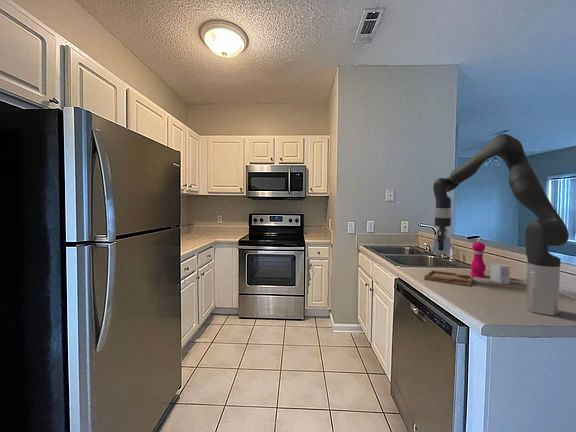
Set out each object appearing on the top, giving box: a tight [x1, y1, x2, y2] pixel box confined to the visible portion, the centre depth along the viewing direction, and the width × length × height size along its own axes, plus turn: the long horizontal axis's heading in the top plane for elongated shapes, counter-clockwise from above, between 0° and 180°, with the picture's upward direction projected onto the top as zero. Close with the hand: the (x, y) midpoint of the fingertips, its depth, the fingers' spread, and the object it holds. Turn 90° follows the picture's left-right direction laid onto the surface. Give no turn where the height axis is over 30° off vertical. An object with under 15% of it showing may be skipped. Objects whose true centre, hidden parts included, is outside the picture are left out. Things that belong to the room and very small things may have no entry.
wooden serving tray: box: [423, 270, 474, 287], centre depth 156 cm, size 16×20×2 cm
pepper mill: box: [469, 238, 487, 278], centre depth 164 cm, size 7×7×20 cm
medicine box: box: [489, 263, 511, 285], centre depth 152 cm, size 8×4×9 cm, turn 179°
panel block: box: [433, 236, 451, 255], centre depth 157 cm, size 4×7×8 cm, turn 53°
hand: (441, 249), depth 157 cm, fingers closed on panel block, 4 cm apart
